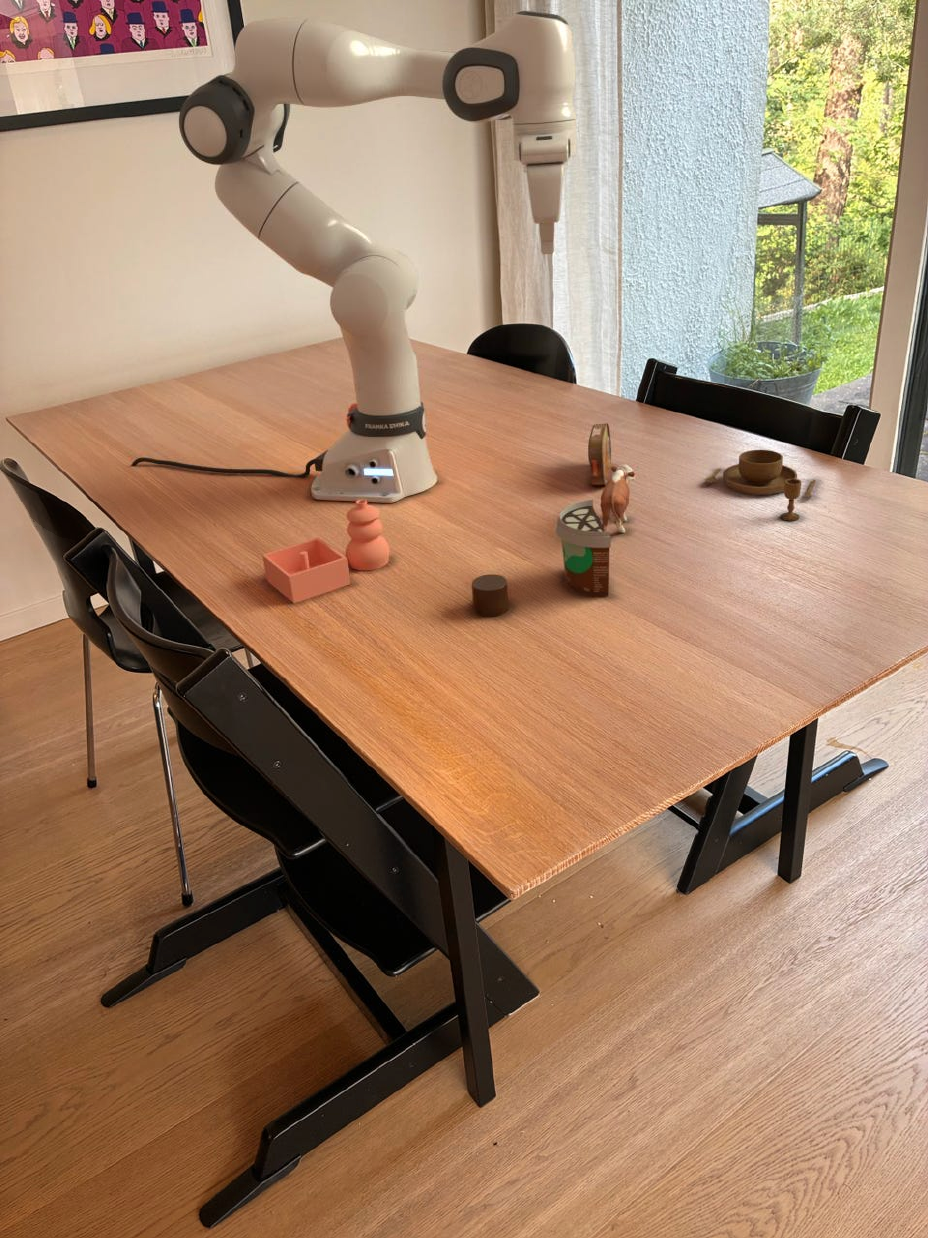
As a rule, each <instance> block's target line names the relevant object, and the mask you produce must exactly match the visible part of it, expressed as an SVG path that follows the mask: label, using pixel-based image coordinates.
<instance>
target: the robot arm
mask: <svg viewBox="0 0 928 1238" xmlns="http://www.w3.org/2000/svg"><path fill="white" fill-rule="evenodd" d="M575 58H576V57H575V45H574V38H573V33H572V29H571V26H570V24H569V23H568V21H567V20H566V19H565V18H563V17H562V16H560V15H559V14H554V13H548V12H539V11H530V10H520V11H518V12H515V13H514V14H513V15H512V16H511V18H510V19H509V20H508V21H507V22H506V23H505V24H504V25H502V26H501V27H500V28H499V29H497V30H496V31H494V32H493V33H491V34H490V35H488V36H486V37H484V38H483V39H481V40H479V41H477V42H474V43H472V44H470V45H468V46H466V47H463V48H462V49H460V50H459V51H457V52H453V51H444V50H443V51H441V50H434V49H433V50H432V49H423V48H414V47H408V46H404V45H400V44H396V43H393V42H390V41H387V40H384V39H382V38H379V37H376V36H374V35H370V34H367V33H365V32H362V31H359V30H356V29H353V28H350V27H347V26H344V25H340V24H337V23H333V22H329V21H323V20H316V19H308V18H296V17H294V18H293V17H292V18H291V17H289V18H288V17H286V18H285V17H283V18H282V17H281V18H269V19H267V18H266V19H262V20H254V21H251V22H249V23H247V24H246V25H245V26H244V27H243V28H242V29H241V30H240V32H239V33H238V35H237V38H236V40H235V46H234V66H233V69H232V71H231V72H226V73H224V74H219V75H216V76H215V77H214V78H212V79H210V80H209V81H207V82H206V83H204V84H202V85H201V86H199V87H197V88H196V89H195V90H194V91H192V93H191V94H190V95H189V96H188V97H187V98H186V99H185V101H184V102H183V103H182V106H181V108H180V111H179V115H178V128H179V134H180V136H181V139H182V141H183V143H184V145H185V146H186V148H187V149H188V151H189V152H190V153H191V155H193V156H195V157H196V159H198V160H200V161H201V162H203V163H205V164H209V165H214V166H219V167H218V169H217V172H216V175H215V178H214V189H215V190H214V191H215V193H216V197H217V199H218V200H219V201H220V202H221V204H222V205H223V206H224V208H226V210H227V211H228V212H229V213H230V214H231V215H232V216H233V217H234V219H236V220H237V221H238V222H239V223H240V224H241V226H243V227H244V228H245V229H246V230H247V231H248V232H249V233H250V234H251V235H252V236H254V237H255V238H256V239H258V241H260V242H261V243H262V244H264V245H265V246H266V247H267V248H268V249H269V250H271V251H272V252H273V253H275V254H276V255H277V256H278V257H280V258H281V259H282V260H284V261H285V262H286V263H287V264H288V265H290V266H291V267H292V268H293V269H295V270H296V271H297V272H298V273H301V274H304V275H306V276H309V277H311V278H314V279H316V280H317V281H320V282H322V283H324V284H326V285H327V286H329V287H330V288H332V290H331V292H330V295H329V296H330V297H329V307H330V311H331V315H332V317H333V319H334V320H335V322H336V324H337V325H338V326H339V328H340V332H341V336H342V338H343V341H344V344H345V347H346V350H347V353H348V357H349V361H350V367H351V372H352V379H353V384H354V386H353V387H354V392H355V400H356V402H355V403H352V404H350V406H349V408H348V409H347V414H346V426H347V427H348V431H345V433H344V434H343V435H341V437H339V439H337V440H336V441H335V442H334V443H333V444H332V445H331V446H330V447H329V448H327V449H326V450H324V451H323V452H321V454H319V455H318V456H317V457H315V458H313V459H311V460H309V461H308V462H307V463H306V464H305V470H304V471H305V472H303V473H300V474H291V473H286V472H283V471H280V470H275V469H267V468H225V467H224V468H222V467H212V466H203V465H195V464H189V463H188V464H187V463H184V462H183V463H182V462H177V461H172V460H165V459H156V458H151V457H146V456H145V457H138V458H136V459H135V460H134V461H133V462H132V463H131V467H137V465H138V464H140V463H151V464H154V465H163V466H171V467H176V468H181V469H186V470H192V471H202V472H209V473H219V474H233V475H235V474H237V475H238V474H240V475H242V474H244V475H245V474H246V475H254V474H255V475H272V476H277V477H282V478H295V479H305V478H307V477H308V476H310V474H311V467H312V466H313V465H314V469H315V472H320V474H318V475H317V476H316V477H315V478H314V480H313V482H312V484H311V487H310V490H311V491H310V492H311V496H312V498H313V499H315V500H319V501H338V502H339V501H341V502H342V501H343V502H356V501H357V500H361V499H364V500H367V503H383V504H384V503H385V504H390V503H396V502H398V501H400V500H402V499H405V498H406V497H409V496H414V495H417V494H420V493H422V492H425V491H427V490H429V489H430V488H432V487H434V486H435V484H437V481H438V476H437V474H436V472H435V469H434V467H433V463H432V459H431V456H430V452H429V447H428V443H427V437H426V436H427V431H428V429H427V428H428V427H427V419H426V418H427V417H426V410H425V406H424V405H425V404H424V402H423V401H422V398H421V389H420V388H421V387H420V379H419V378H420V377H419V370H418V369H419V366H418V358H417V355H416V354H415V352H414V350H413V346H412V343H411V340H410V336H409V332H408V329H407V323H406V311H407V310H408V309H409V308H410V307H411V306H412V305H413V303H414V301H415V299H416V297H417V293H418V288H419V273H418V270H417V267H416V265H415V264H414V262H413V261H412V258H410V257H409V256H408V255H406V254H405V253H403V252H402V251H399V250H397V249H395V248H393V247H391V246H389V245H388V244H387V243H385V242H384V241H382V240H380V239H379V238H378V237H376V236H374V235H373V234H371V233H369V232H368V231H366V230H365V229H363V228H361V227H360V226H357V225H356V224H354V223H353V222H351V221H349V220H348V219H346V218H345V217H343V216H342V215H340V213H338V212H337V211H335V210H334V209H333V208H332V207H330V206H329V205H328V204H327V203H325V202H324V201H323V200H322V199H321V198H320V197H318V196H317V195H315V193H313V192H312V191H311V190H310V189H308V188H307V187H306V186H305V185H304V184H302V183H301V182H300V181H299V180H297V179H296V178H295V177H293V176H292V175H291V174H290V173H289V172H288V171H286V170H285V169H284V168H283V167H282V166H281V165H280V164H279V162H278V161H277V159H276V157H275V153H276V152H278V151H280V150H281V149H282V147H283V144H284V138H285V137H284V136H285V131H286V129H287V125H288V122H289V119H290V114H291V105H295V106H296V105H297V106H305V107H313V108H322V109H323V108H325V109H327V108H328V109H329V108H345V107H351V106H357V105H362V104H367V103H370V102H375V101H380V100H384V99H391V98H396V97H416V98H417V97H418V98H427V99H434V100H435V99H436V100H445V103H446V105H447V107H448V108H449V110H450V111H451V112H452V113H453V114H454V115H455V116H456V117H458V118H459V119H461V120H463V121H466V122H469V123H473V124H482V123H487V122H493V121H507V120H512V143H513V159H514V160H515V161H518V162H520V163H521V165H522V166H523V167H522V168H523V170H522V171H523V173H524V174H526V182H527V189H528V197H529V204H530V211H531V216H532V217H531V218H532V220H533V223H534V224H536V225H537V224H538V227H539V230H538V231H539V238H540V252H541V254H543V255H552V254H553V253H554V251H555V224H556V223H558V222H559V221H560V218H561V211H562V202H563V190H564V189H563V188H564V177H565V171H567V170H568V169H569V162H568V161H569V160H570V159H571V158H574V157H576V156H577V154H578V153H577V115H576V110H575V107H574V92H575V88H576V59H575Z"/></svg>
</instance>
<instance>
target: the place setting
mask: <svg viewBox="0 0 928 1238" xmlns="http://www.w3.org/2000/svg"><path fill="white" fill-rule="evenodd" d="M783 464H784V457H783V455H782V454H781V453H780V452H777V451H775V450H770V449H751V450H747V451H743V452H742V453H741V454H739V456H738V463H736V464H733V465H730V466H729V467H727V468H725V469H724V470H723V472H722V480H723V482H724V484H725V485H726V486H728V487H729V488H730V489H732V490H734V491H737V492H739V493H741V494H746V495H755V496H769V495H776V494H779V493H782V492H783V495H784V498H786V499H787V500H788V503H787V505H786V509H787V512H783V513H782V514H780V515H779V516H780V519H781V520H783V521H787V522H794V521H798V520H799V519H800V515H799V514H798V513H796V512H793V511H794V510H795V500H797V499H799V497H800V495H801V490H802V480H800V479H799V478H798V473H797V471H795V469H793V468H792V467H790V466H787V465H785V464H784V465H783ZM721 469H722V468H717V469H716V470H715V472H714V473H713V474H712V475H711V476H709V477H706V478H705V479H704V481H705V482H704V483H706V484H708V485H712V484H714V483H716V482H717V480H718V479H717V477H716V476H717V475H718V474H719V473H720V472H721ZM815 484H816V479H812V481H811V483H810V485H809V487H808V490H807V492H806V494H805V493H804V494H803V496H801V498H804V499H812V497H813V495H812V494H811V493H812V490H813V488H814V486H815Z"/></svg>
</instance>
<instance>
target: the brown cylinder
mask: <svg viewBox="0 0 928 1238" xmlns="http://www.w3.org/2000/svg"><path fill="white" fill-rule="evenodd" d="M471 595H472V608H473V609H472V610H473V612H474V613H475V614H476V615H477V616H480V617H483V618H484V617H486V618H493V617H499V616H502V615H504V614H506V613H507V612H508V611H509V609H510V603H509V585H508V580H507V578H506V577H504V576H502V575H499V574H493V573H492V574H483V575H480V576H477V577H475V578H474V579H472V580H471Z"/></svg>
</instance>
